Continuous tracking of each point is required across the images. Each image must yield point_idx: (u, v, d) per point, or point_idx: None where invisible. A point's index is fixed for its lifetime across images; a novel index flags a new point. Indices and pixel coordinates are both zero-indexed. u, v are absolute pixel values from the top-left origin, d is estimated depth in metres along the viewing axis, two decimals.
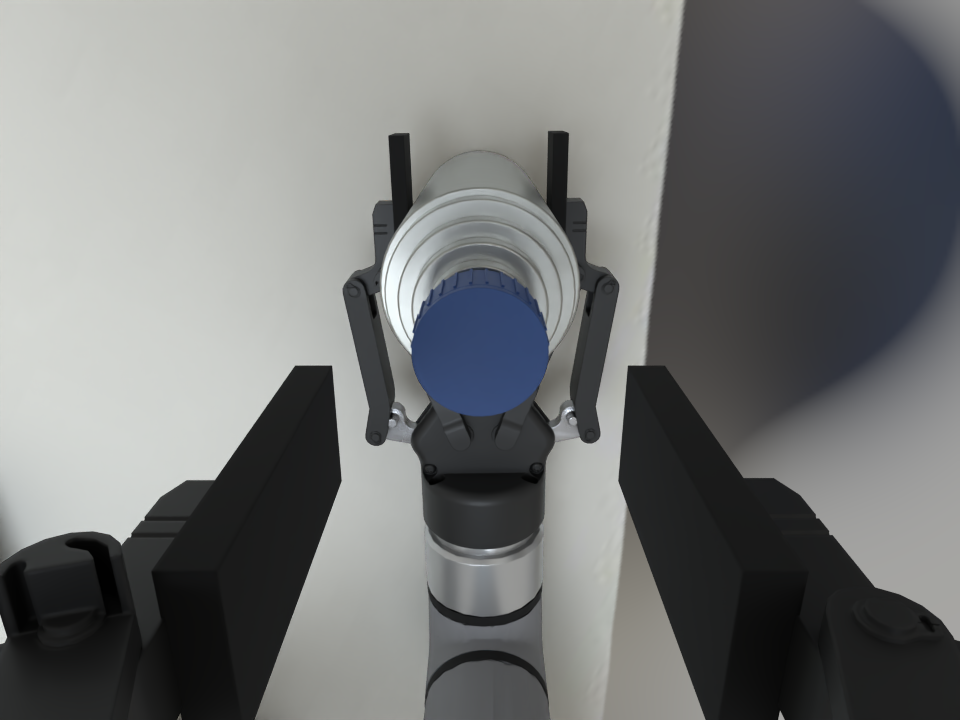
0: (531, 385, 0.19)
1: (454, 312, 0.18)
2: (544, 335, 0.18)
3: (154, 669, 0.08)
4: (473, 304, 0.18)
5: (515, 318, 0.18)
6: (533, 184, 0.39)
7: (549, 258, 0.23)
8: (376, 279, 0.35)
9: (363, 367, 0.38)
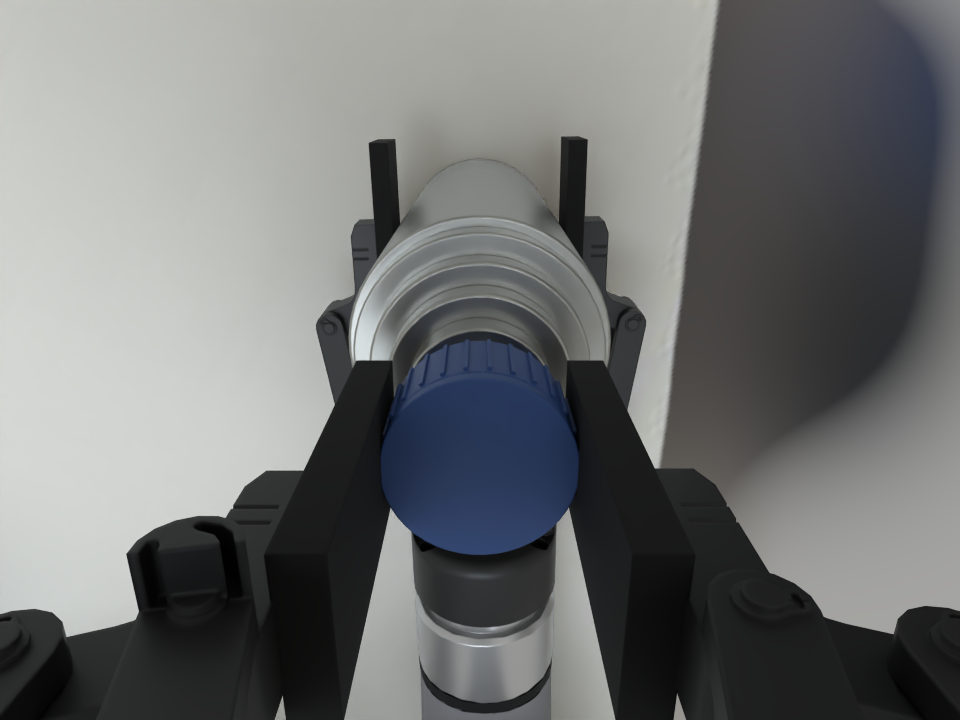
0: (554, 513, 0.13)
1: (441, 413, 0.12)
2: (574, 445, 0.12)
3: (267, 649, 0.08)
4: (469, 402, 0.12)
5: (531, 421, 0.12)
6: (542, 198, 0.33)
7: (573, 313, 0.17)
8: None
9: None
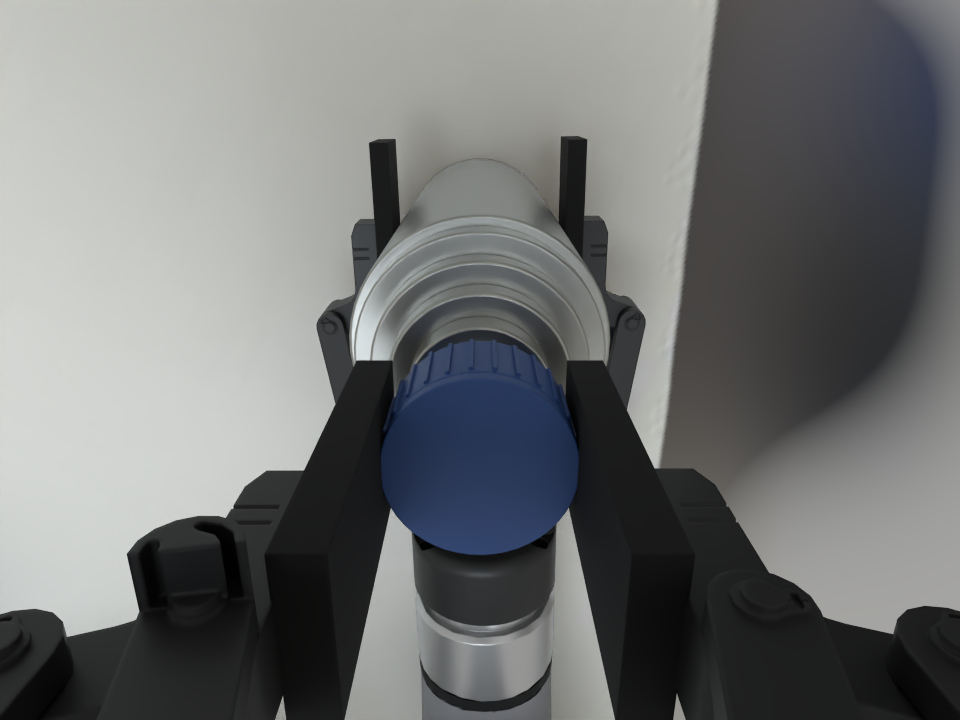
0: (511, 392, 0.12)
1: (427, 515, 0.13)
2: (427, 394, 0.12)
3: (267, 649, 0.08)
4: (409, 495, 0.13)
5: (412, 439, 0.12)
6: None
7: (572, 311, 0.17)
8: None
9: None
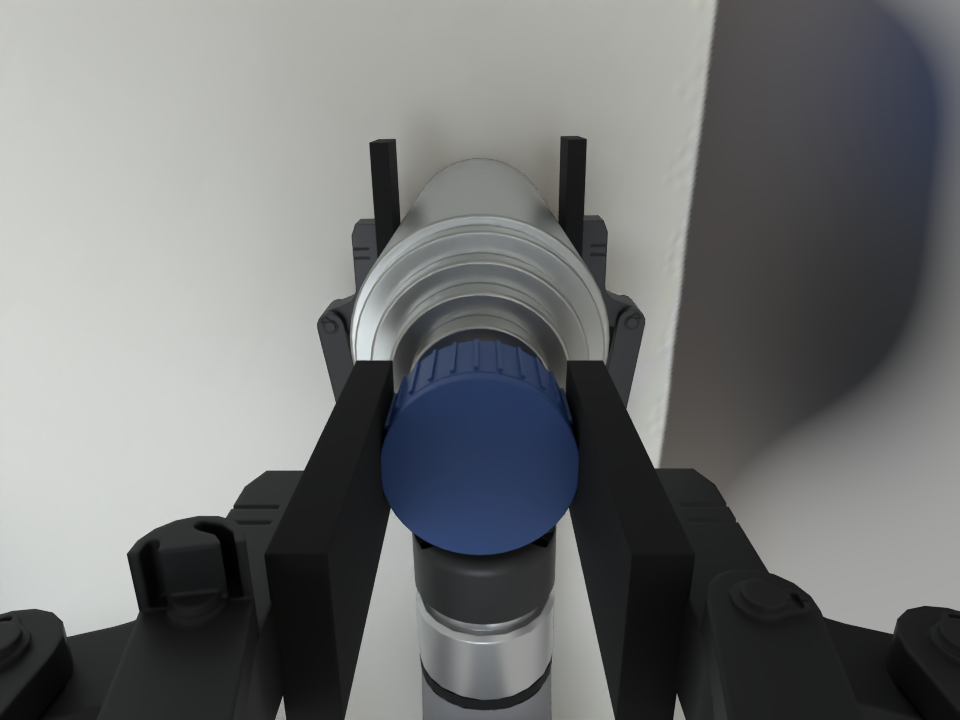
0: (388, 464, 0.12)
1: (540, 505, 0.13)
2: (413, 529, 0.13)
3: (267, 649, 0.08)
4: (522, 525, 0.13)
5: (461, 532, 0.13)
6: None
7: (572, 310, 0.17)
8: None
9: None
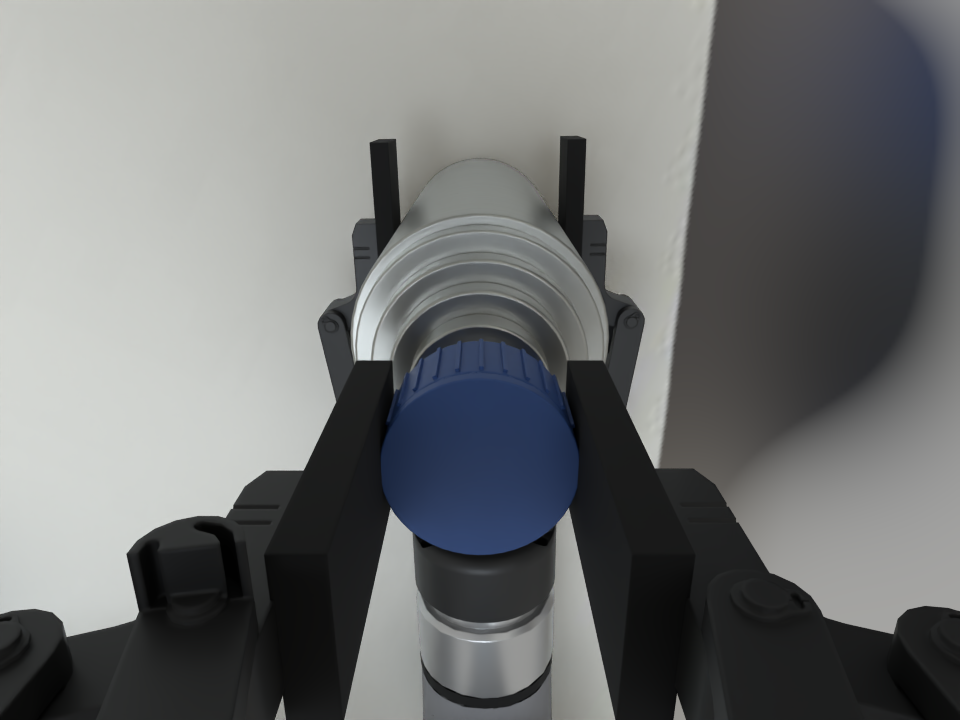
0: (492, 546, 0.13)
1: (504, 408, 0.12)
2: (560, 514, 0.13)
3: (266, 649, 0.08)
4: (532, 420, 0.12)
5: (554, 473, 0.13)
6: None
7: (571, 309, 0.17)
8: None
9: None
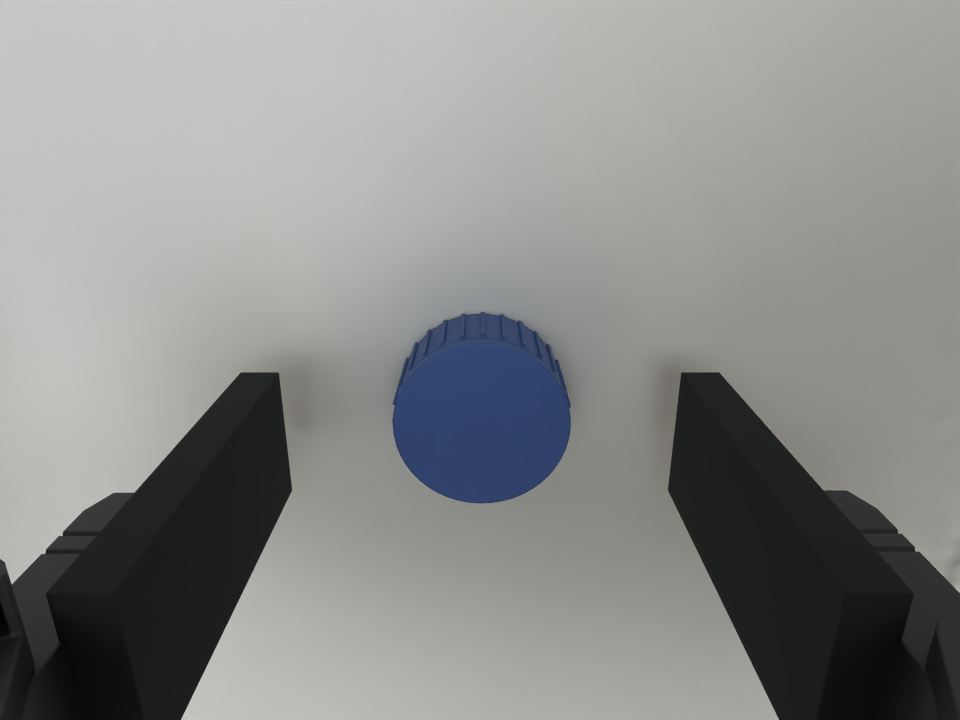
0: (493, 495, 0.15)
1: (503, 369, 0.14)
2: (553, 466, 0.15)
3: (49, 695, 0.07)
4: (527, 380, 0.14)
5: (547, 428, 0.14)
6: None
7: None
8: None
9: None
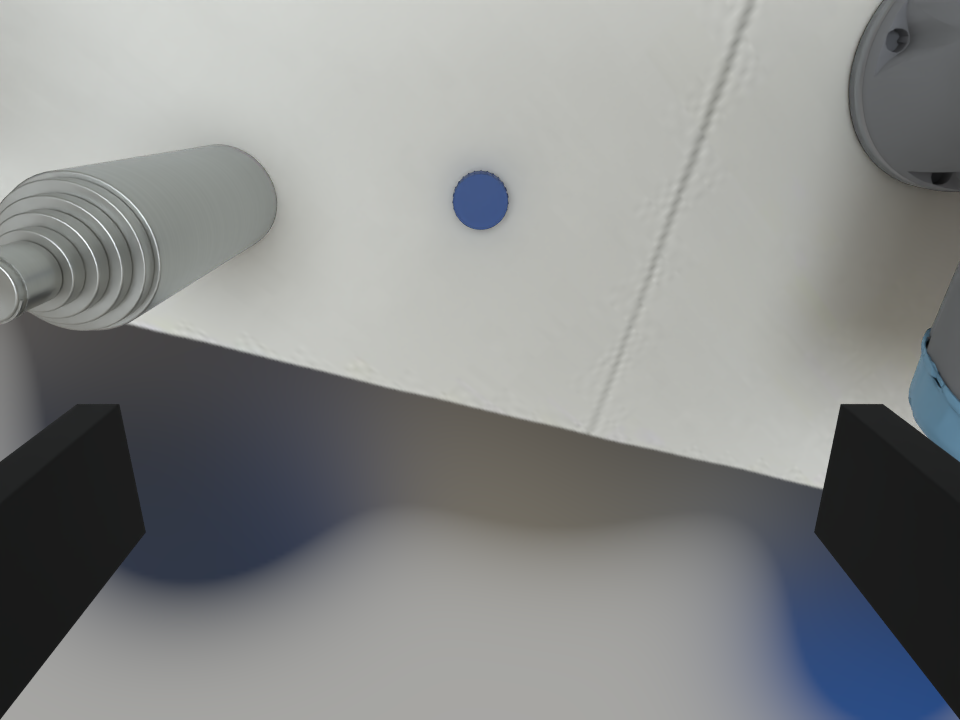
0: (484, 226, 0.47)
1: (487, 182, 0.46)
2: (502, 216, 0.47)
3: None
4: (494, 186, 0.46)
5: (500, 202, 0.46)
6: None
7: (90, 320, 0.30)
8: None
9: None
